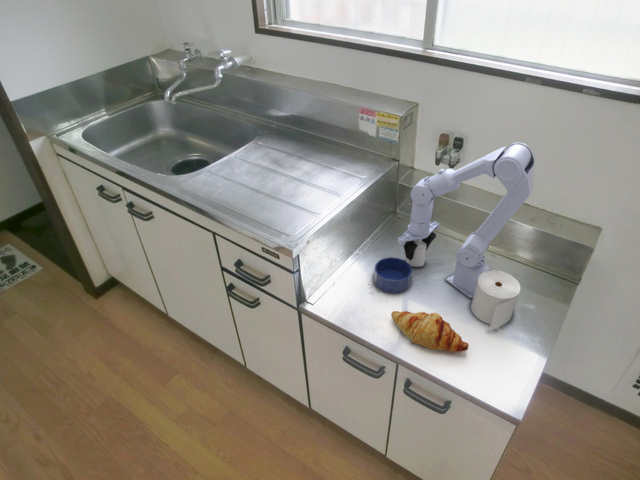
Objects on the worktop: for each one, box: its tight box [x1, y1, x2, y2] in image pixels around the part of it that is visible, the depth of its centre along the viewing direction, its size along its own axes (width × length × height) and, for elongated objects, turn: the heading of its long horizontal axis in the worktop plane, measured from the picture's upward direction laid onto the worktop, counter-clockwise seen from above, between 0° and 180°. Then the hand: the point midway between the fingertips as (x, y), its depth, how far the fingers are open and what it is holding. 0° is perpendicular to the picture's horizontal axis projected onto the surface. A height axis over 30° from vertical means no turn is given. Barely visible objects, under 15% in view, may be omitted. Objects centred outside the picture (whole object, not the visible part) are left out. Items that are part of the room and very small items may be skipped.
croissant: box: [390, 310, 470, 353], centre depth 116 cm, size 21×10×8 cm, turn 55°
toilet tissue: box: [470, 269, 521, 332], centre depth 120 cm, size 11×12×10 cm
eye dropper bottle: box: [405, 239, 427, 268], centre depth 137 cm, size 4×6×12 cm
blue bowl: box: [373, 256, 413, 294], centre depth 133 cm, size 10×10×5 cm
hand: (415, 254), depth 138 cm, fingers closed on eye dropper bottle, 5 cm apart
